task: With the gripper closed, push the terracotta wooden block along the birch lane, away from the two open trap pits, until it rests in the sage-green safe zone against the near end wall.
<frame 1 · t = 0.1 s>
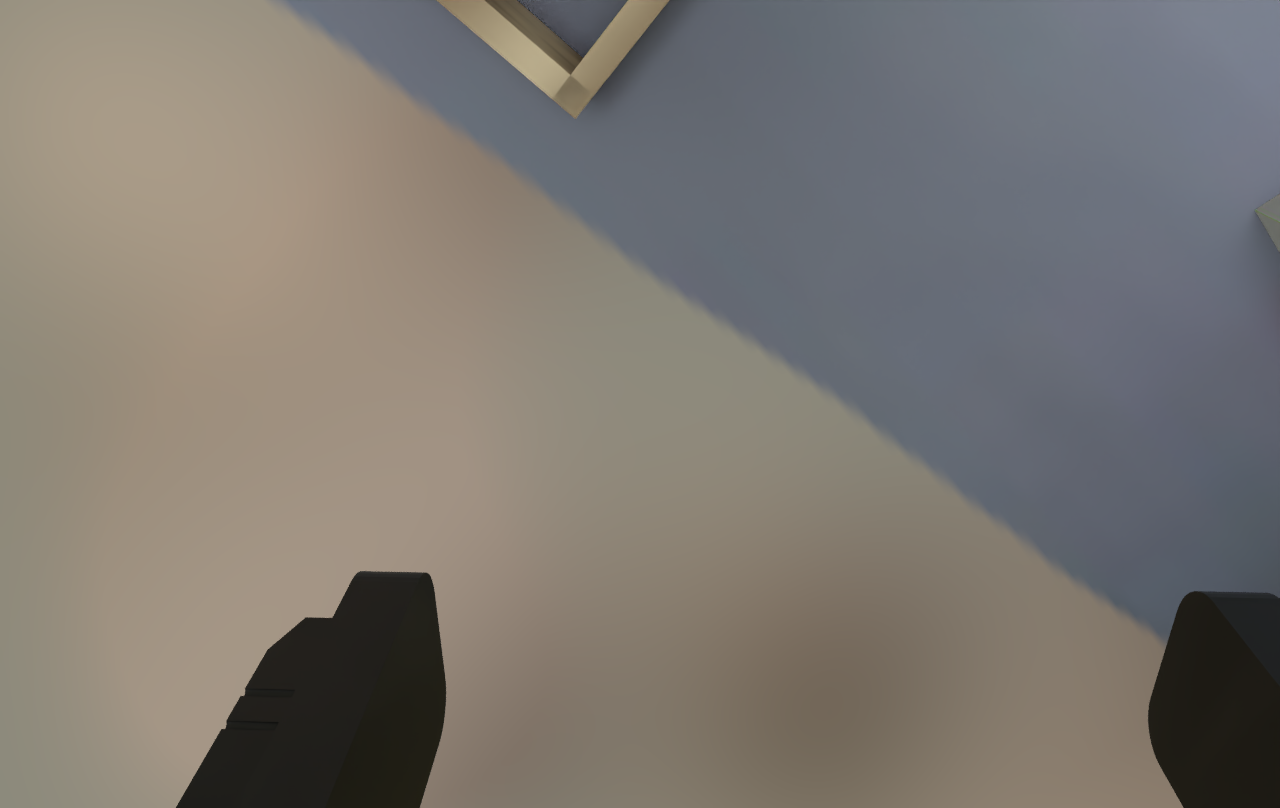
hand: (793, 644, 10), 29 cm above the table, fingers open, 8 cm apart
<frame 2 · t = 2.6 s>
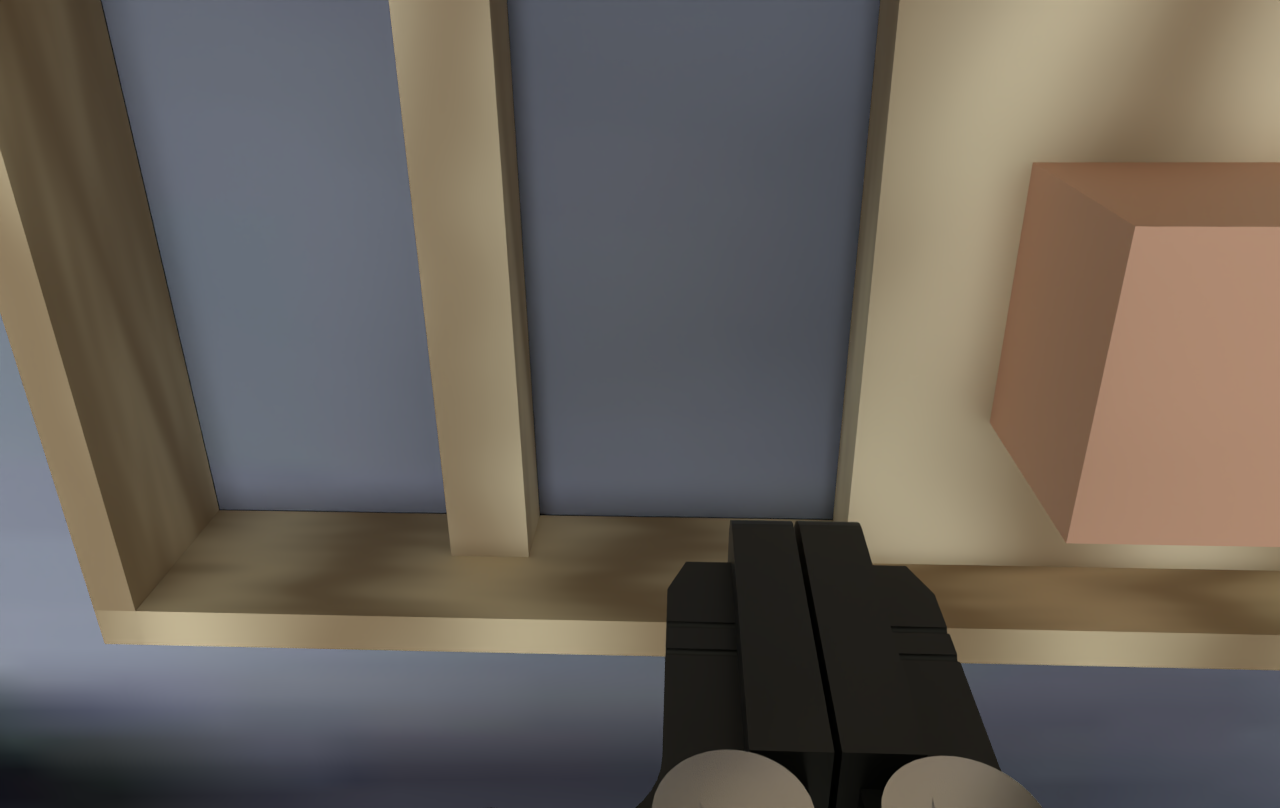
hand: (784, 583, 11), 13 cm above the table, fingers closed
trap lane: (939, 272, 23), on the table
block: (1149, 301, 21), point 2 cm above the table, touching trap lane
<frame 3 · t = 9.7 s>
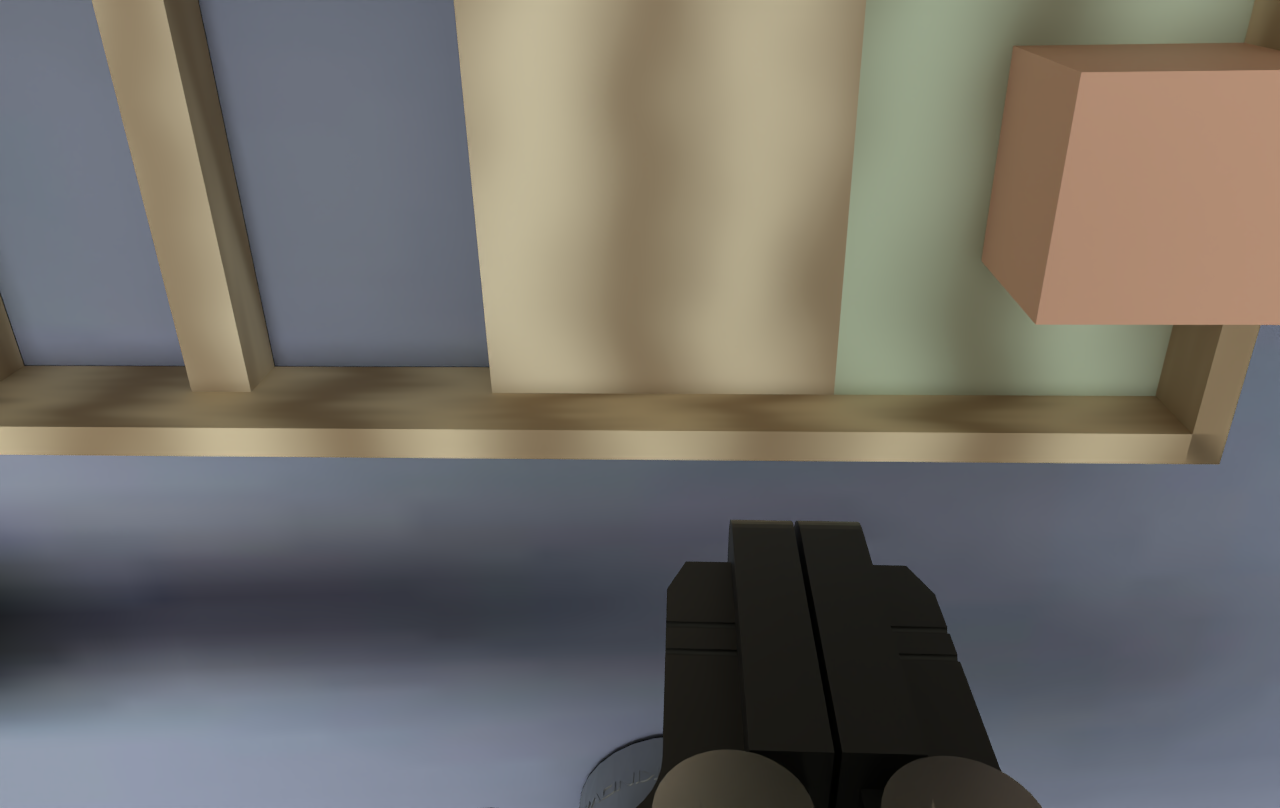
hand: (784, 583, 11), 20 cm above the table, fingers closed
trap lane: (548, 161, 30), on the table
block: (1105, 157, 27), point 2 cm above the table, touching trap lane
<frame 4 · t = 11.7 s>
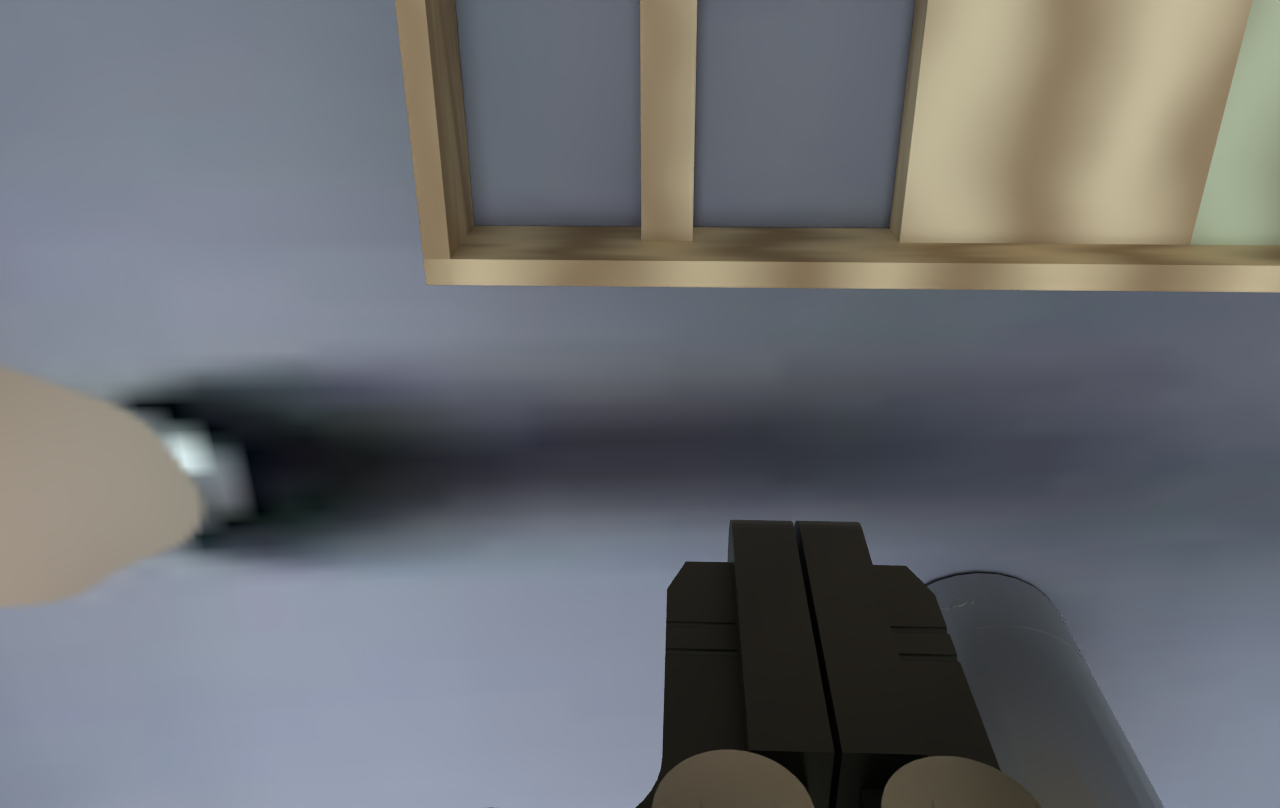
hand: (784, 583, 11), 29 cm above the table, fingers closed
trap lane: (964, 45, 36), on the table
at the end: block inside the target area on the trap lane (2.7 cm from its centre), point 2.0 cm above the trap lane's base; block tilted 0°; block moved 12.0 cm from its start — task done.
